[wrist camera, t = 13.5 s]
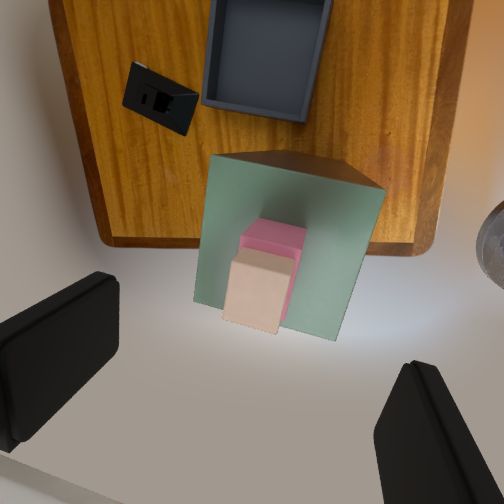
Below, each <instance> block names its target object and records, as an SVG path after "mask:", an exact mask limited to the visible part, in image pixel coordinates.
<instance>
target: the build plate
mask: <svg viewBox="0 0 504 504" xmlns="http://www.w3.org/2000/svg"><path fill="white" fill-rule="evenodd" d="M198 98H199V94H198V93H196V92H194V91H192V90H190V89H188V88H186V87H184V86H181V85H179V84H177V83H175V82H173V81H171V80H169V79H167V78H165V77H163V76H161V75H159V74H157V73H155V72H153V71H151V70H149V69H147V67H146V66H145V65H143V64H141V63H139V62H132V64H131V68H130V72H129V77H128V81H127V85H126V90H125V94H124V98H123V103H122V105H123V106H125V107H127V108H129V109H131V110H133V111H135V112H137V113H139V114H141V115H143V116H145V117H147V118H149V119H151V120H153V121H155V122H157V123H159V124H161V125H163V126H165V127H167V128H169V129H171V130H173V131H175V132H177V133H179V134H181V135H183V136H186V134H187V131H188V128H189V125H190V122H191V119H192V116H193V113H194V110H195V107H196V104H197V101H198Z"/></svg>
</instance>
